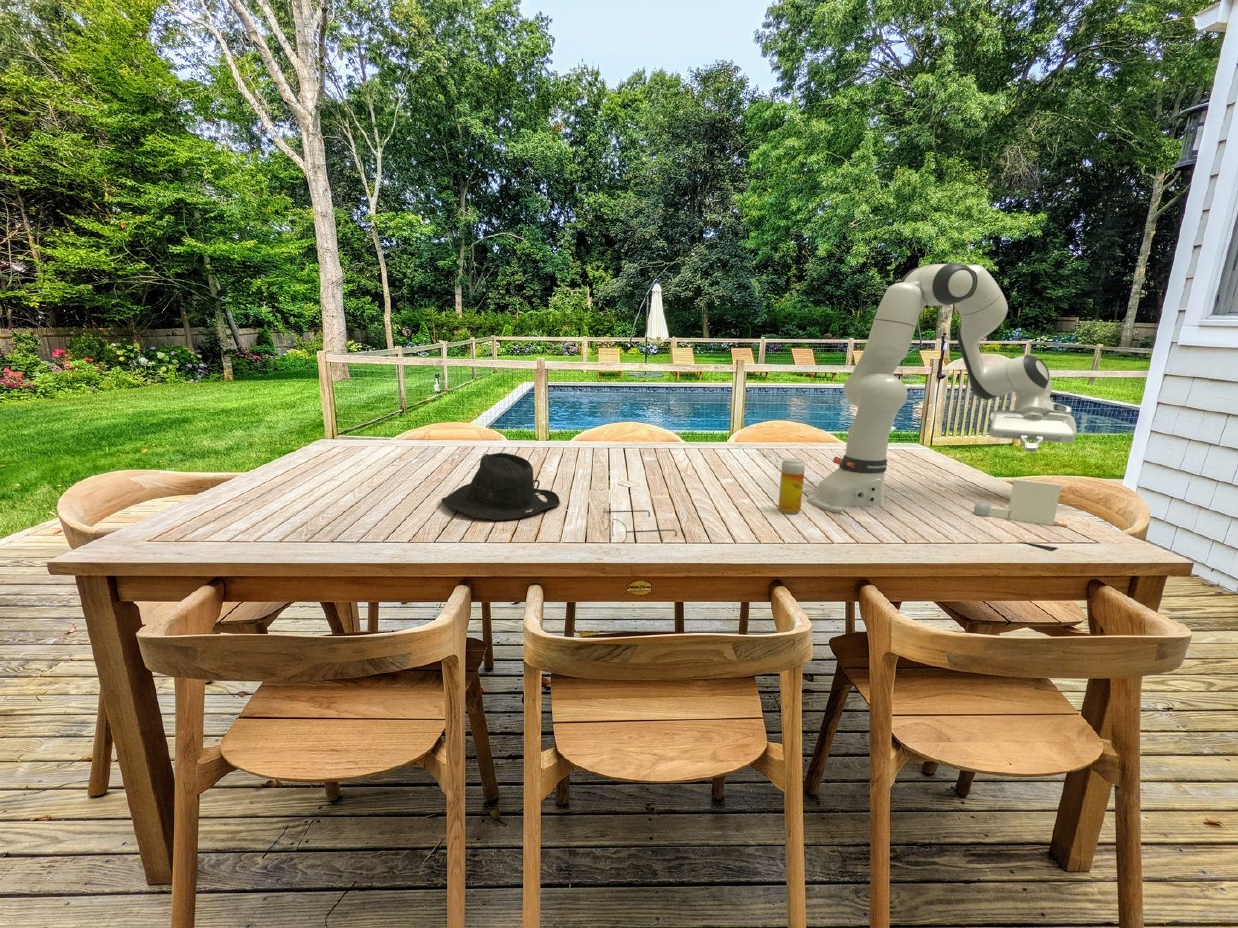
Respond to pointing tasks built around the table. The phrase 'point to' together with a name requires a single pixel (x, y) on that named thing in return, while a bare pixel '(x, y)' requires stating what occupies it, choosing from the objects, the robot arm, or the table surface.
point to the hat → (501, 490)
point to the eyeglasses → (625, 526)
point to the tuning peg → (1027, 503)
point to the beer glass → (791, 485)
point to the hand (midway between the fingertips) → (1030, 450)
